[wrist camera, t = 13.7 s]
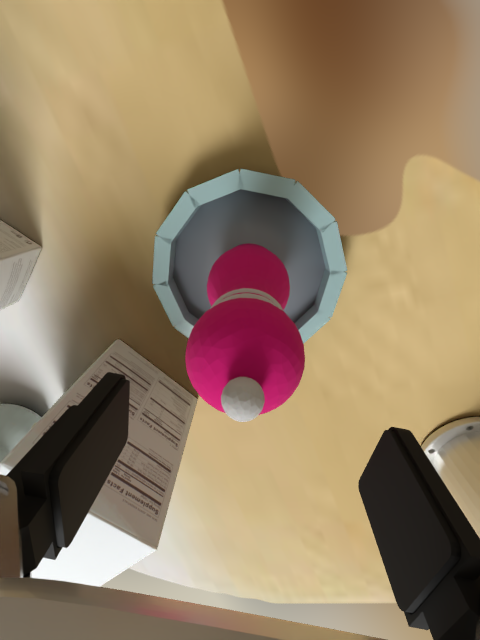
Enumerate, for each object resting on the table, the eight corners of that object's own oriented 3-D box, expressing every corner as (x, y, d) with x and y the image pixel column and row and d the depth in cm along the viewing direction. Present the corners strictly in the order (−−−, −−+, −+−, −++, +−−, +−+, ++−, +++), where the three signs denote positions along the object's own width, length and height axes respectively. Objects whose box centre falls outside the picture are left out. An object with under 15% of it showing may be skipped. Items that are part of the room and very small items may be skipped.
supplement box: (141, 449, 42) (72, 607, 26) (62, 397, 38) (-73, 543, 22) (200, 398, 37) (161, 552, 22) (117, 335, 34) (-3, 461, 18)
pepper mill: (296, 287, 29) (368, 443, 11) (236, 318, 31) (212, 498, 13) (263, 223, 27) (285, 289, 9) (200, 261, 29) (107, 382, 10)
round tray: (360, 195, 27) (373, 195, 24) (307, 356, 34) (312, 372, 31) (170, 156, 26) (159, 152, 23) (158, 329, 33) (149, 342, 31)
